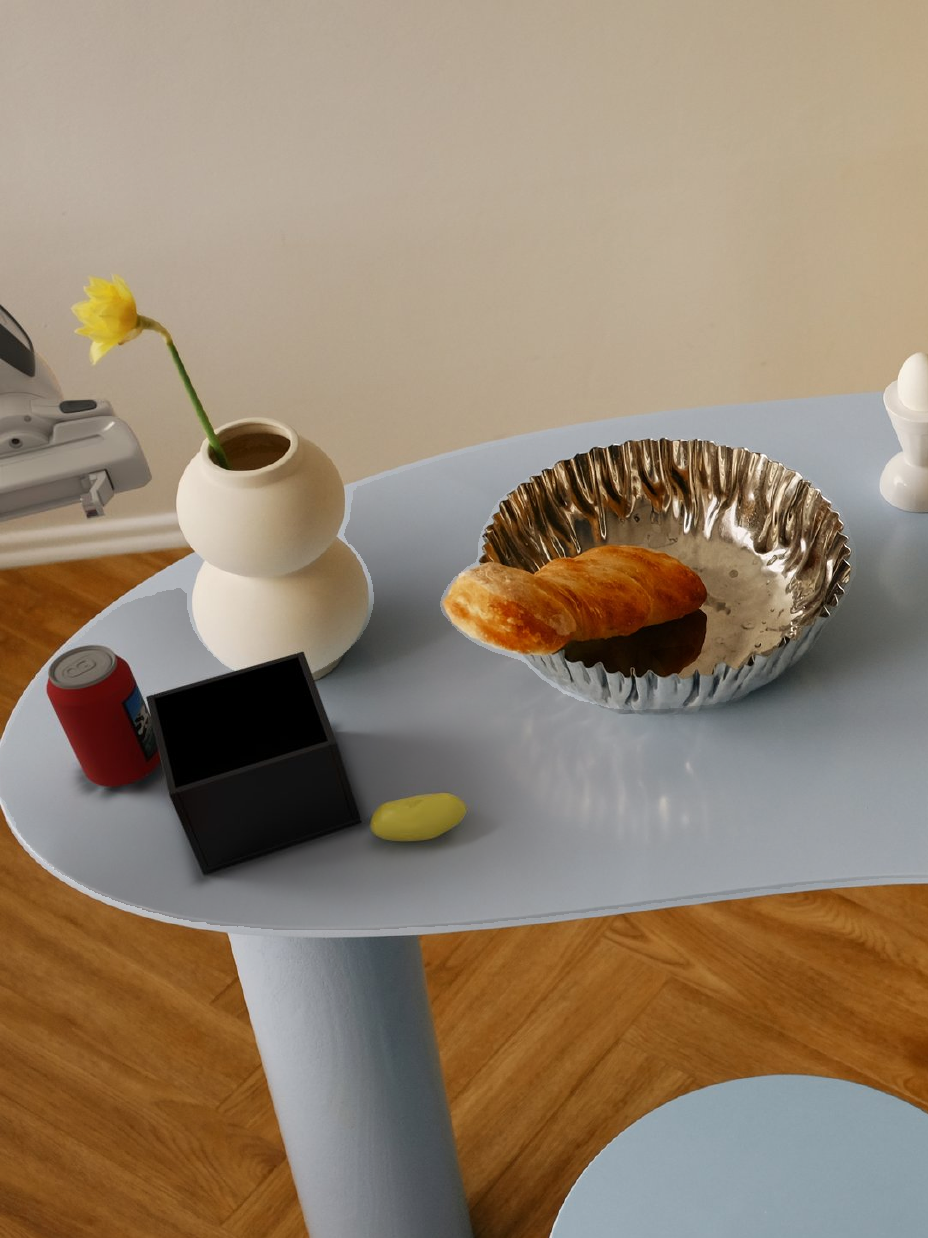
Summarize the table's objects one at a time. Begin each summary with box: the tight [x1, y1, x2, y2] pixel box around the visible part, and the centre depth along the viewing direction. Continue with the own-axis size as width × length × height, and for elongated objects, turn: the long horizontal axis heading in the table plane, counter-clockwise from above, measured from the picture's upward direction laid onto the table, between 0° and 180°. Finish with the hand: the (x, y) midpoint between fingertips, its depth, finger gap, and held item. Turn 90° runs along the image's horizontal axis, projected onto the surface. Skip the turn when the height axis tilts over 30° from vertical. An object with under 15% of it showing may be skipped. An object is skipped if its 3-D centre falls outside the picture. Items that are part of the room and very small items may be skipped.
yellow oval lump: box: [369, 792, 468, 842], centre depth 128 cm, size 4×8×4 cm, turn 100°
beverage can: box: [45, 644, 161, 787], centre depth 131 cm, size 7×7×12 cm
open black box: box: [145, 651, 363, 876], centre depth 129 cm, size 13×13×10 cm
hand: (36, 525), depth 132 cm, fingers open, 8 cm apart
